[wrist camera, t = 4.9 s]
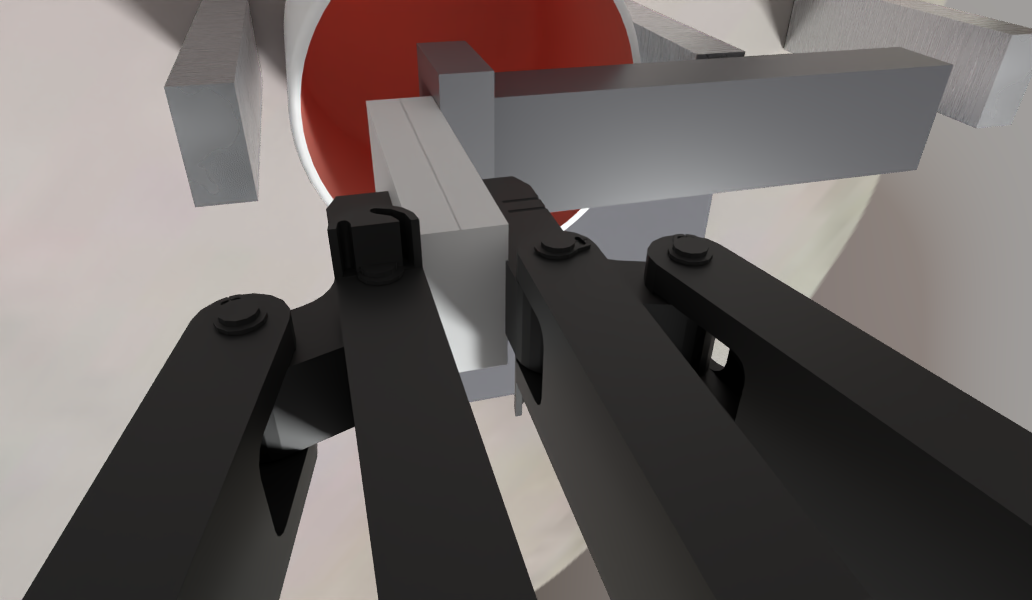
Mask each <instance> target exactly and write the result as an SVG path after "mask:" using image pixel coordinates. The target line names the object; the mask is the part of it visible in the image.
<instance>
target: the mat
mask: <svg viewBox="0 0 1032 600" xmlns="http://www.w3.org/2000/svg"><path fill="white" fill-rule="evenodd" d="M711 200H712V194H705V195H696V196H688V197H679V198H670V199H662V200H653V201H645V202H636V203H627V204H619V205H610V206H602V207H593V208H589V209H588V210H587V211H586V212H585V213H584V214H583V215H582V216H581V217H580V218H579V219H578V220H576V221H575V222H574V223H573V224H572V225H571V226H569V227H568V228H567V229H565V230H564V231H569V232H575V233H578V234H580V235H583V236H585V237H588V238H589V239H590V240H591V241H593V242H594V243H595V244H596V245H597V246H598V247H599V249H600V250H601V251H602V253H603V254H604V255H605V256H606V258H607V259H612V260H623V261H645V262H646V256H647V249H648V247H649V246H650V244H651V243H652V241H655V240H657V239H659V238H661V237H664V236H671V235H675V234H684V235H685V234H691V235H695V236H697V237H701V238H704V237H705V232H706V227H707V221H708V216H709V210H710V205H711ZM459 374H460V377H461V380H462V383H463V386H464V389H465V392H466V394H467V397H468V400H469V402H473V401H479V400H485V399H490V398H496V397H501V396H507V395H512V394H515V353H514V351H513V349H512V347H511V345H510V342H509V340H508V364H506V365H500V366H495V367H489V368H483V369H477V370H471V371H465V372H459Z"/></svg>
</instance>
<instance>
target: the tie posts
mask: <svg viewBox="0 0 1032 600" xmlns="http://www.w3.org/2000/svg"><path fill="white" fill-rule="evenodd" d="M624 1H625V3H626V6H627V8H628V11H629V13H630V16H631V19H632V21H633V25H634V28H635V32H636V36H637V40H638V45H639V52H640V59H641V63H651V62H667V61H682V60H698V59H714V58H730V57H744V55H745V51H743V50H741V49H739V48H736V47H734V46H732V45H730V44H727V43H725V42H723V41H721V40H719V39H716V38H714V37H712V36H710V35H707V34H705V33H703V32H701V31H698V30H696V29H694V28H692V27H690V26H687V25H685V24H683V23H681V22H678V21H676V20H674V19H672V18H669V17H667V16H665V15H663V14H661V13H658V12H656V11H654V10H652V9H649V8H647V7H645V6H643V5H640V4H638V3H636V2H634V1H632V0H624ZM888 47H902V48H905V49H908V50H911V51H914V52H917V53H920V54H923V55H926V56H929V57H932V58H935V59H938V60H941V61H944V62H947V63H950V64H953V68H952V71H951V73H950V76H949V79H948V82H947V85H946V88H945V90H944V93H943V96H942V99H941V102H940V105H939V107H938V110H937V112H938V113H940V114H942V115H945V116H947V117H950V118H952V119H955V120H957V121H960V122H962V123H965V124H967V125H969V126H972V127H974V128H984V127H994V126H1004V125H1011V124H1012V122H1013V119H1014V117H1015V114H1016V112H1017V110H1018V107H1019V105H1020V103H1021V100H1022V98H1023V95H1024V93H1025V91H1026V88H1027V86H1028V83H1029V81H1030V79H1031V76H1032V28H1028V27H1024V26H1020V25H1016V24H1012V23H1008V22H1004V21H1000V20H996V19H992V18H988V17H984V16H979V15H976V14H972V13H968V12H963V11H959V10H956V9H952V8H948V7H944V6H940V5H936V4H932V3H928V2H924V1H920V0H794V5H793V9H792V14H791V18H790V23H789V27H788V32H787V37H786V41H785V46H784V50H786V51H789V52H791V53H809V52H825V51H841V50H857V49H872V48H888ZM164 89H165V93H166V97H167V100H168V104H169V108H170V112H171V116H172V120H173V123H174V127H175V131H176V135H177V139H178V143H179V147H180V150H181V154H182V158H183V162H184V166H185V170H186V173H187V177H188V181H189V185H190V189H191V193H192V197H193V200H194V204H195V207H202V206H212V205H222V204H232V203H242V202H252V201H258V191H259V165H260V140H261V115H262V89H263V80H262V74H261V69H260V63H259V58H258V52H257V47H256V41H255V36H254V30H253V24H252V19H251V13H250V8H249V2H248V0H202V1H201V4H200V6H199V8H198V11H197V13H196V15H195V17H194V20H193V22H192V24H191V27H190V29H189V31H188V33H187V36H186V38H185V40H184V43H183V45H182V47H181V49H180V52H179V54H178V56H177V59H176V61H175V63H174V65H173V68H172V70H171V72H170V74H169V77H168V79H167V81H166V84H165V86H164Z"/></svg>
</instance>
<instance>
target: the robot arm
mask: <svg viewBox="0 0 1032 600" xmlns="http://www.w3.org/2000/svg"><path fill="white" fill-rule="evenodd" d="M366 107H367V116H368V125H369V135H370V144H371V153H372V163H373V172H374V181H375V190H376V192H373V193H363V194H354V195H344V196H336V197H335V198H334V200H333V201H332V202H331V204H330V205H329V206H328V208H327V209H326V211H327V218H328V229H327V231H328V238H329V244H330V251H331V257H332V264H333V270H334V277H335V280H334V283H333V285H332V287H331V288H330V289H329V290H328V291H327V292H326V293H325V294H324V295H323V296H321V297H320V298H318V299H317V300H315V301H313V302H311V303H309V304H306V305H304V306H301V307H299V308H296V309H293V310H290V308H289V307H288V306H287V304H286V303H285V302H284V301H283V300H281V299H279V298H276V297H274V296H272V295H265V294H255V293H252V294H243V295H241V294H239V295H234V296H229V297H228V298H227V297H226V298H223V299H221V300H218V301H216V302H214V303H212V304H211V305H209V306H207V307H205V308H203V309H202V310H200V312H199V313H198V314H197V315H196V316H195V317H194V318H193V319H192V320H191V321H190V323H189V325H188V326H187V328H186V330H185V331H184V333H183V335H182V336H181V338H180V340H179V341H178V343H177V345H176V346H175V348H174V349H173V351H172V353H171V354H170V356H169V358H168V359H167V361H166V363H165V364H164V366H163V368H162V369H161V371H160V373H159V374H158V376H157V378H156V379H155V381H154V383H153V384H152V386H151V387H150V389H149V391H148V392H147V394H146V396H145V397H144V399H143V401H142V402H141V404H140V406H139V407H138V409H137V411H136V412H135V414H134V416H133V417H132V419H131V421H130V422H129V424H128V425H127V427H126V429H125V430H124V432H123V434H122V435H121V437H120V439H119V440H118V442H117V444H116V445H115V447H114V449H113V450H112V452H111V454H110V455H109V457H108V459H107V460H106V462H105V463H104V465H103V467H102V468H101V470H100V472H99V473H98V475H97V477H96V478H95V480H94V482H93V483H92V485H91V487H90V488H89V490H88V492H87V493H86V495H85V497H84V498H83V500H82V501H81V503H80V505H79V506H78V508H77V510H76V511H75V513H74V515H73V516H72V518H71V520H70V521H69V523H68V525H67V526H66V528H65V530H64V531H63V533H62V535H61V536H60V538H59V539H58V541H57V543H56V544H55V546H54V548H53V549H52V551H51V553H50V554H49V556H48V558H47V559H46V561H45V563H44V564H43V566H42V568H41V569H40V571H39V573H38V574H37V576H36V577H35V579H34V581H33V582H32V584H31V586H30V587H29V589H28V591H27V592H26V594H25V596H24V597H23V599H22V600H279V598H280V594H281V590H282V587H283V583H284V579H285V575H286V572H287V568H288V564H289V560H290V557H291V553H292V549H293V545H294V542H295V538H296V534H297V530H298V527H299V523H300V519H301V515H302V512H303V508H304V504H305V500H306V497H307V493H308V489H309V485H310V482H311V478H312V474H313V470H314V467H315V463H316V459H317V443H318V442H321V441H323V440H325V439H327V438H330V437H332V436H334V435H337V434H339V433H341V432H343V431H346V430H348V429H350V428H353V427H355V431H356V438H357V445H358V453H359V460H360V468H361V475H362V482H363V490H364V497H365V504H366V512H367V519H368V526H369V534H370V541H371V548H372V556H373V563H374V571H375V578H376V585H377V593H378V600H537V598H536V595H535V592H534V589H533V586H532V583H531V580H530V578H529V575H528V572H527V569H526V566H525V563H524V560H523V557H522V554H521V551H520V549H519V546H518V543H517V540H516V537H515V534H514V531H513V528H512V525H511V522H510V519H509V517H508V514H507V511H506V508H505V505H504V502H503V499H502V496H501V493H500V490H499V487H498V485H497V482H496V479H495V476H494V473H493V470H492V467H491V464H490V461H489V458H488V455H487V453H486V450H485V447H484V444H483V441H482V438H481V435H480V432H479V429H478V426H477V424H476V421H475V418H474V415H473V412H472V409H471V406H470V403H469V400H468V397H467V394H466V392H465V389H464V386H463V383H462V380H461V377H460V374H459V372H465V371H471V370H477V369H483V368H489V367H495V366H500V365H506V364H508V340H509V342H510V345H511V347H512V349H513V351H514V353H515V402H514V408H515V416H520V415H522V404H523V402H525V404H526V406H527V409H528V411H529V413H530V415H531V418H532V420H533V422H534V425H535V427H536V429H537V432H538V434H539V436H540V438H541V441H542V443H543V445H544V448H545V450H546V452H547V455H548V457H549V459H550V461H551V464H552V466H553V468H554V471H555V473H556V475H557V477H558V480H559V482H560V484H561V487H562V489H563V491H564V494H565V496H566V498H567V500H568V503H569V505H570V507H571V510H572V512H573V514H574V517H575V519H576V521H577V523H578V526H579V528H580V530H581V533H582V535H583V537H584V540H585V542H586V544H587V546H588V549H589V551H590V553H591V556H592V558H593V560H594V562H595V564H596V567H597V569H598V572H599V574H600V576H601V579H602V581H603V583H604V586H605V588H606V590H607V592H608V595H609V597H610V599H611V600H1032V433H1031V432H1029V431H1028V430H1026V429H1024V428H1023V427H1021V426H1019V425H1018V424H1016V423H1015V422H1013V421H1011V420H1010V419H1008V418H1006V417H1004V416H1003V415H1001V414H1000V413H998V412H996V411H995V410H993V409H991V408H990V407H988V406H986V405H985V404H983V403H981V402H980V401H978V400H976V399H975V398H973V397H972V396H970V395H968V394H967V393H965V392H963V391H962V390H960V389H958V388H956V387H955V386H953V385H952V384H950V383H948V382H947V381H945V380H943V379H942V378H940V377H938V376H937V375H935V374H933V373H932V372H930V371H928V370H927V369H925V368H924V367H922V366H920V365H918V364H917V363H915V362H914V361H912V360H910V359H909V358H907V357H905V356H903V355H902V354H900V353H899V352H897V351H895V350H894V349H892V348H890V347H889V346H887V345H885V344H884V343H882V342H880V341H879V340H877V339H875V338H874V337H872V336H870V335H869V334H867V333H865V332H864V331H862V330H861V329H859V328H857V327H856V326H854V325H852V324H851V323H849V322H847V321H846V320H844V319H842V318H841V317H839V316H837V315H836V314H834V313H832V312H831V311H829V310H827V309H826V308H824V307H823V306H821V305H819V304H818V303H816V302H814V301H813V300H811V299H809V298H808V297H806V296H804V295H803V294H801V293H799V292H798V291H796V290H794V289H793V288H791V287H790V286H788V285H786V284H785V283H783V282H781V281H780V280H778V279H776V278H775V277H773V276H771V275H770V274H768V273H766V272H765V271H763V270H761V269H760V268H758V267H756V266H755V265H753V264H751V263H750V262H748V261H746V260H745V259H743V258H742V257H740V256H738V255H737V254H735V253H733V252H732V251H730V250H728V249H727V248H725V247H723V246H722V245H720V244H718V243H715V242H713V241H711V240H709V239H706V238H701V237H697V236H695V235H691V234H685V235H684V234H675V235H671V236H664V237H661V238H659V239H657V240H655V241H652V243H651V244H650V246H649V247H648V249H647V256H646V262H645V261H623V260H612V259H607V258H606V256H605V255H604V254H603V253H602V251H601V250H600V249H599V247H598V246H597V245H596V244H595V243H594V242H593V241H591V240H590V239H589V238H588V237H585V236H583V235H580V234H578V233H575V232H569V231H563V230H562V228H561V227H560V226H559V224H558V223H557V221H556V220H555V219H554V217H553V216H552V215H551V213H550V212H549V210H548V209H546V208H545V205H544V204H543V202H542V201H541V199H539V197H538V195H537V194H536V193H535V191H534V190H533V188H532V187H531V186H530V185H529V184H527V183H525V182H523V181H521V180H519V179H517V178H516V177H514V176H508V177H499V178H489V179H481V177H480V176H479V174H478V172H477V171H476V169H475V167H474V166H473V164H472V162H471V161H470V159H469V157H468V156H467V154H466V152H465V151H464V149H463V147H462V146H461V144H460V142H459V141H458V139H457V137H456V136H455V134H454V132H453V131H452V129H451V127H450V126H449V124H448V122H447V121H446V119H445V117H444V116H443V114H442V112H441V111H440V109H439V107H438V106H437V104H436V102H435V101H434V99H433V97H432V96H425V97H411V98H397V99H383V100H370V101H366ZM715 338H716V339H718V340H719V341H720V342H722V343H723V344H725V345H726V346H727V347H729V348H730V350H729V354H728V358H727V363H726V365H725V367H723V366H721V365H720V364H718V363H716V362H715V361H714V360H713V359H711V356H712V351H713V346H714V341H715Z"/></svg>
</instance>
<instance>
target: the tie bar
mask: <svg viewBox="0 0 1032 600" xmlns="http://www.w3.org/2000/svg"><path fill="white" fill-rule="evenodd" d="M416 45H417V61H418V78H419V95H420V97H425V96H432V97H433V99H434V101H435V102H436V104H437V106H438V107H439V109H440V111H441V112H442V114H443V116H444V117H445V119H446V121H447V122H448V124H449V126H450V127H451V129H452V131H453V132H454V134H455V136H456V137H457V139H458V141H459V142H460V144H461V146H462V147H463V149H464V151H465V152H466V154H467V156H468V157H469V159H470V161H471V162H472V164H473V166H474V167H475V169H476V171H477V172H478V174H479V176H480V177H481V179H489V178H499V177H508V176H514V177H516V178H517V179H519V180H521V181H523V182H525V183H527V184H529V185H530V186H531V187H532V188H533V190H534V191H535V193H536V194H537V195H538V197H539V199H541V201H542V202H543V204H544V205H545V208H546V209H548V210H549V212H559V211H567V210H576V209H584V208H593V207H602V206H610V205H619V204H627V203H636V202H645V201H653V200H662V199H670V198H679V197H688V196H696V195H705V194H714V193H722V192H731V191H739V190H748V189H757V188H765V187H774V186H782V185H791V184H800V183H808V182H817V181H825V180H834V179H843V178H851V177H860V176H868V175H877V174H886V173H894V172H903V171H911V170H916V169H917V167H918V164H919V161H920V158H921V155H922V153H923V150H924V147H925V144H926V141H927V139H928V136H929V133H930V130H931V127H932V124H933V122H934V119H935V116H936V113H937V110H938V107H939V105H940V102H941V99H942V96H943V93H944V90H945V88H946V85H947V82H948V79H949V76H950V73H951V71H952V68H953V64H950V63H947V62H944V61H941V60H938V59H935V58H932V57H929V56H926V55H923V54H920V53H917V52H914V51H911V50H908V49H905V48H902V47H888V48H872V49H857V50H841V51H825V52H809V53H793V54H777V55H762V56H746V57H730V58H714V59H698V60H682V61H667V62H651V63H635V64H619V65H603V66H588V67H572V68H556V69H540V70H524V71H508V72H494V70H493V69H492V68H491V67H490V66H489V65H488V64H487V63H486V62H485V61H484V60H483V59H482V58H481V57H480V55H479V54H478V53H477V52H476V51H475V50H474V49H473V48H472V47H471V46H470V45H469V44H468V43H467V42H466V41H446V42H427V43H416Z"/></svg>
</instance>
